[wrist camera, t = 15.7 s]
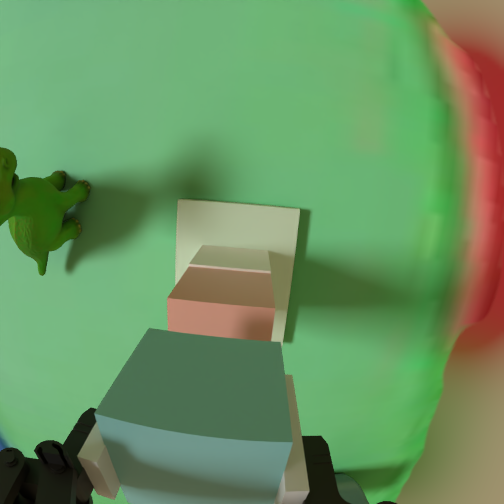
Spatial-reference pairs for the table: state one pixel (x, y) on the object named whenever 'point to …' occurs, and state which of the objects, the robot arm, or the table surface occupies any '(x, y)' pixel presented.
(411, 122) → the table surface
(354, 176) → the table surface
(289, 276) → the plate
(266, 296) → the brick coral
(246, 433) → the brick teal
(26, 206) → the toy
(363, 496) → the flower pot
